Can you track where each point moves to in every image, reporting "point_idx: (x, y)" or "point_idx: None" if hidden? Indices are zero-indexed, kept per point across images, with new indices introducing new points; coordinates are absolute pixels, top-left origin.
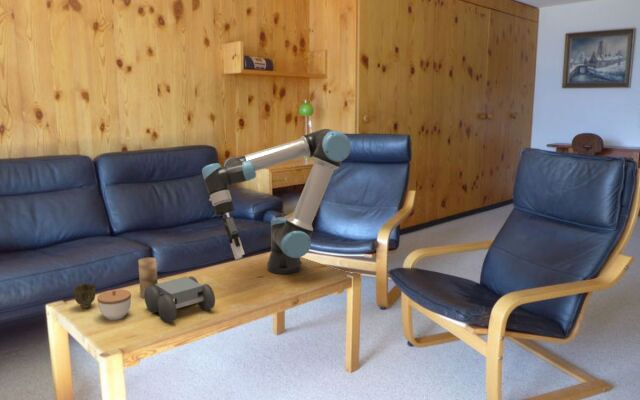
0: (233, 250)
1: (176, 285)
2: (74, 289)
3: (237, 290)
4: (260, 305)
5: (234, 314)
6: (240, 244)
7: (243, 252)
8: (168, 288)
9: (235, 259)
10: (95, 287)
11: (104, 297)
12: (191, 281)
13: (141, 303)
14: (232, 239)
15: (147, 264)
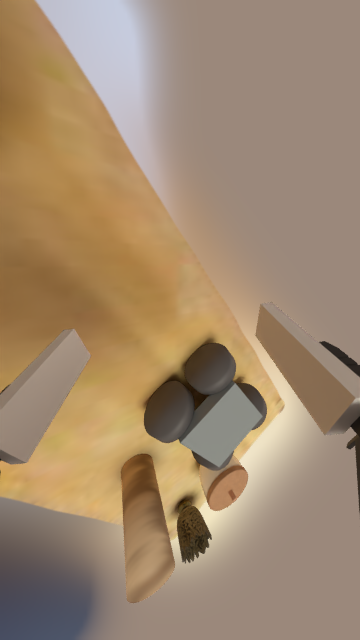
0: (62, 396)
1: (228, 430)
2: (195, 551)
3: (96, 316)
4: (187, 254)
5: (220, 303)
6: (313, 345)
7: (277, 310)
8: (240, 434)
9: (90, 356)
10: (194, 536)
11: (238, 493)
12: (211, 415)
13: (171, 455)
14: (342, 429)
15: (172, 554)
